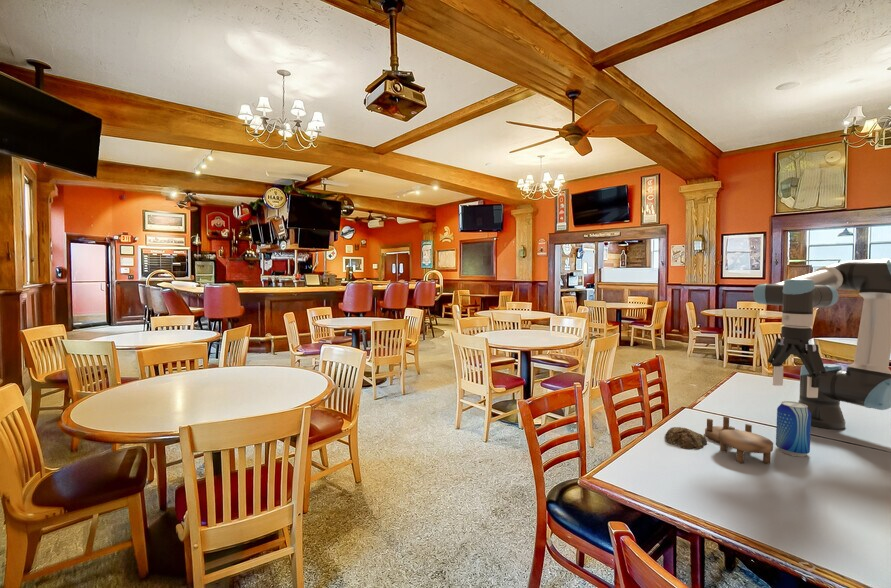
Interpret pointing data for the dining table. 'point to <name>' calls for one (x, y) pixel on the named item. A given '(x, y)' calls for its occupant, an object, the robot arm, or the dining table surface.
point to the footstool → (745, 444)
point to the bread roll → (685, 438)
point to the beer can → (793, 428)
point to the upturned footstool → (713, 431)
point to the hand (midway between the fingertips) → (794, 391)
